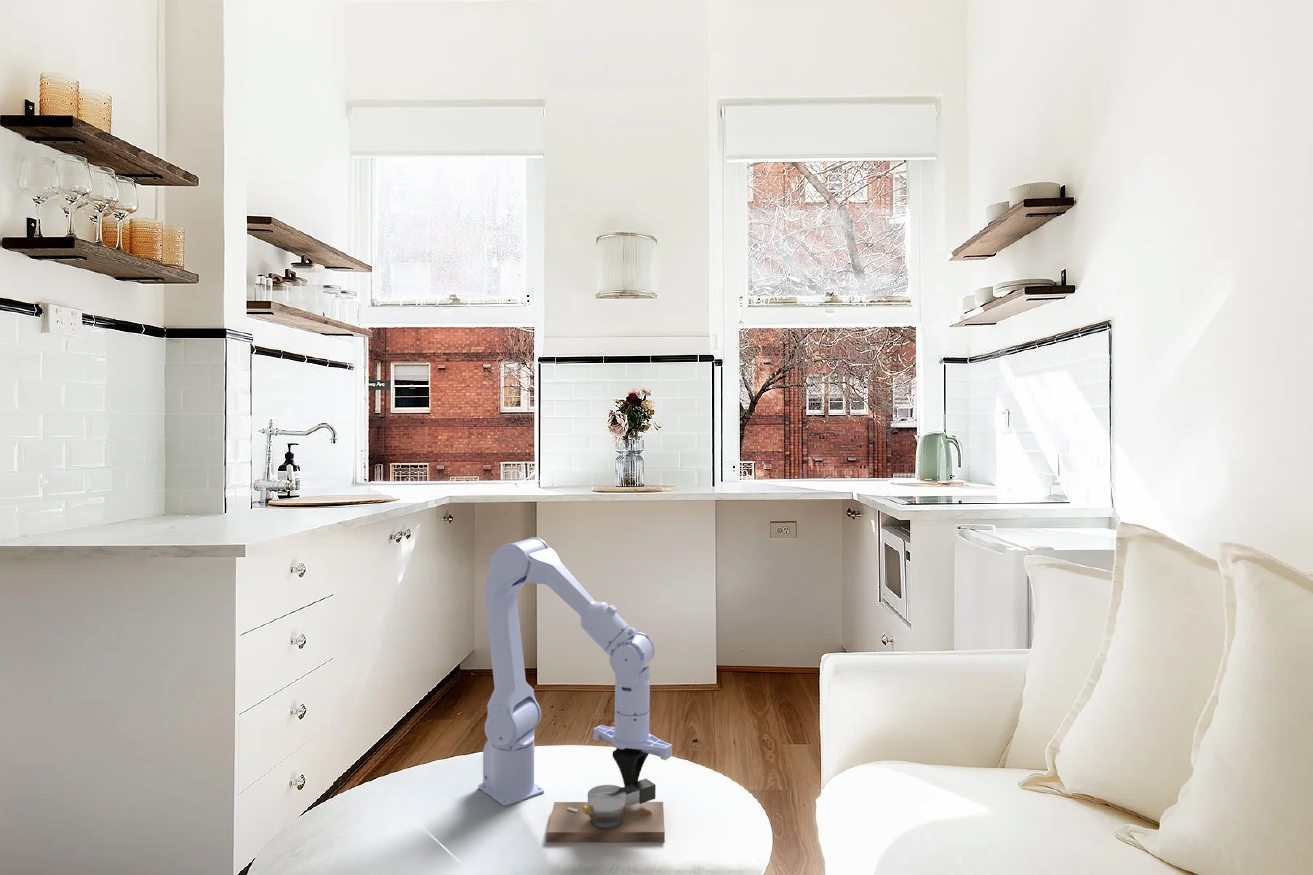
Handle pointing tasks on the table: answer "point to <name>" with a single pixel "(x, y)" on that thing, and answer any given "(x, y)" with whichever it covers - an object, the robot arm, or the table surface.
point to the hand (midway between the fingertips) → (631, 791)
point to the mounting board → (606, 824)
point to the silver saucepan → (617, 799)
